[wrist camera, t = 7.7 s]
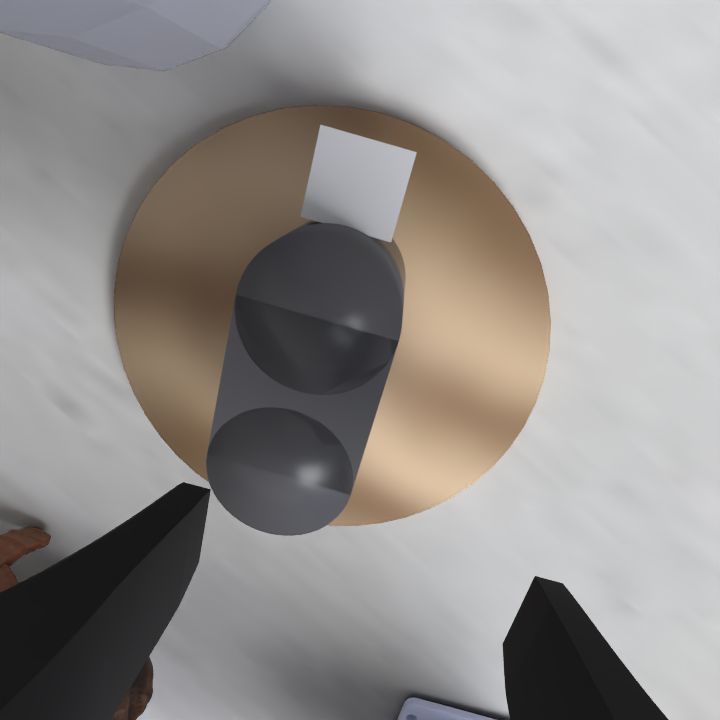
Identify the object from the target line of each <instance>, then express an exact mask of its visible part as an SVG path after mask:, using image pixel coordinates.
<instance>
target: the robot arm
mask: <svg viewBox="0 0 720 720" xmlns="http://www.w3.org/2000/svg"><path fill="white" fill-rule="evenodd" d="M209 497H210V489H207V488H203V487H199V486H195V485H192V484H188V483H184V482H183V483H181V484H179V485H178V486H176V487H175V488H173V489H172V490H170V491H169V492H168V493H166V494H165V495H163V496H162V497H161V498H159V499H158V500H156V501H155V502H153V503H152V504H151V505H149V506H148V507H146V508H145V509H143V510H142V511H140V512H139V513H137V514H136V515H135V516H133V517H132V518H130V519H129V520H127V521H125V522H124V523H122V524H121V525H119V526H118V527H116V528H115V529H113V530H112V531H110V532H108V533H107V534H105V535H104V536H102V537H101V538H99V539H97V540H96V541H94V542H93V543H91V544H89V545H87V546H86V547H84V548H82V549H81V550H79V551H77V552H75V553H74V554H72V555H70V556H69V557H67V558H65V559H63V560H62V561H60V562H58V563H56V564H55V565H53V566H51V567H49V568H47V569H45V570H44V571H42V572H40V573H38V574H36V575H34V576H32V577H30V578H28V579H26V580H24V581H22V582H20V583H18V584H16V585H14V586H12V587H10V588H8V589H6V590H4V591H2V592H0V720H112V718H113V716H114V714H115V712H116V710H117V709H118V707H119V705H120V704H121V702H122V700H123V699H124V697H125V695H126V694H127V692H128V690H129V689H130V687H131V685H132V684H133V682H134V680H135V679H136V677H137V675H138V674H139V672H140V670H141V669H142V667H143V665H144V664H145V662H146V660H147V659H148V657H149V656H150V654H151V652H152V651H153V649H154V647H155V646H156V644H157V642H158V641H159V639H160V637H161V635H162V634H163V632H164V630H165V629H166V627H167V625H168V624H169V622H170V620H171V619H172V617H173V615H174V614H175V612H176V610H177V608H178V607H179V605H180V602H181V600H182V598H183V596H184V594H185V592H186V590H187V587H188V585H189V583H190V581H191V579H192V576H193V574H194V572H195V570H196V567H197V565H198V563H199V558H200V552H201V546H202V540H203V534H204V527H205V521H206V515H207V509H208V503H209ZM503 657H504V676H505V689H506V698H507V704H508V710H509V715H510V720H668V719H667V717H666V716H665V715H664V714H663V713H662V711H661V710H660V709H659V708H658V707H657V705H656V704H655V703H654V702H653V701H652V699H651V698H650V697H649V696H648V694H647V693H646V692H645V691H644V689H643V688H642V687H641V686H640V684H639V683H638V682H637V681H636V679H635V678H634V677H633V675H632V674H631V673H630V672H629V670H628V669H627V668H626V666H625V665H624V664H623V662H622V661H621V660H620V659H619V657H618V656H617V655H616V653H615V652H614V651H613V649H612V648H611V647H610V645H609V644H608V643H607V641H606V640H605V639H604V637H603V636H602V635H601V633H600V632H599V631H598V629H597V628H596V626H595V625H594V624H593V622H592V621H591V620H590V618H589V617H588V616H587V614H586V613H585V612H584V610H583V609H582V608H581V606H580V605H579V604H578V602H577V601H576V600H575V598H574V597H573V596H572V594H571V593H570V592H569V591H568V589H567V588H566V587H565V586H564V584H563V583H559V582H555V581H552V580H548V579H544V578H540V577H537V576H535V577H534V579H533V581H532V584H531V586H530V588H529V590H528V592H527V594H526V596H525V598H524V600H523V602H522V605H521V607H520V609H519V611H518V613H517V615H516V617H515V619H514V621H513V623H512V625H511V628H510V630H509V632H508V634H507V636H506V638H505V640H504V642H503ZM397 720H496V719H492V718H489V717H485V716H481V715H478V714H474V713H470V712H467V711H463V710H459V709H456V708H452V707H448V706H445V705H441V704H437V703H434V702H430V701H426V700H423V699H419V698H414V697H413V698H409V699H407V700H406V701H405V702H404V705H403V707H402V710H401V712H400V714H399V717H398V719H397Z"/></svg>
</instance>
